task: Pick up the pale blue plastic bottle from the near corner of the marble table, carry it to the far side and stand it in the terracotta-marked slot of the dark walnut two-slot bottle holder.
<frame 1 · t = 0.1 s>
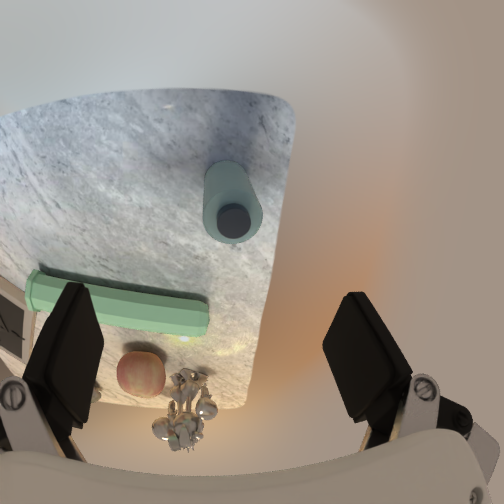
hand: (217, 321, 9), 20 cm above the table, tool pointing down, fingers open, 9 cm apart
container: (118, 293, 33), on the table
robot toy: (181, 380, 46), on the table
seashell: (79, 375, 43), on the table
picture frame: (1, 312, 32), on the table
bottle: (225, 180, 27), on the table
apple: (144, 353, 40), on the table
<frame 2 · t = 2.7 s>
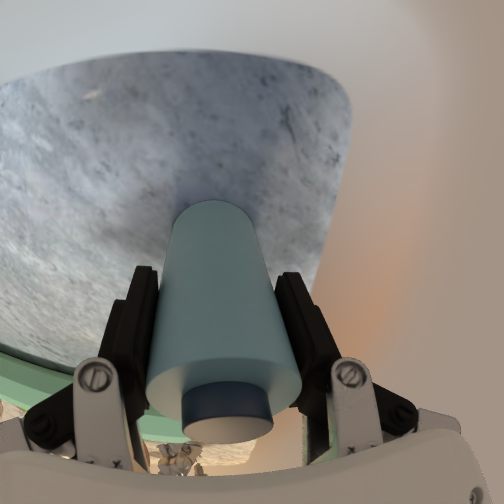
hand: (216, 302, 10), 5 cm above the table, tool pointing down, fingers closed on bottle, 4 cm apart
container: (75, 377, 20), on the table
robot toy: (171, 448, 32), on the table
bottle: (212, 239, 14), on the table, touching gripper
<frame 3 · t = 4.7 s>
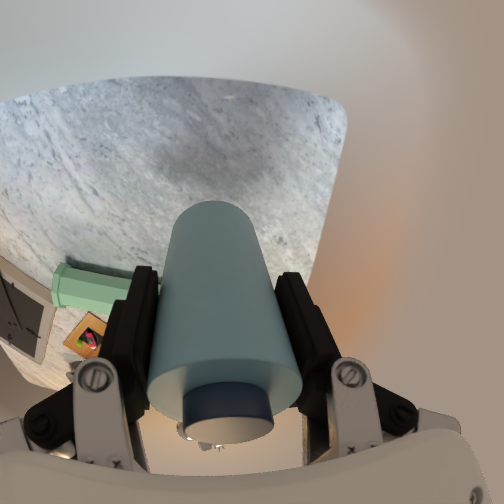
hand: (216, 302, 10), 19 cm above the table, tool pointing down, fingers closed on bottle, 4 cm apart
container: (154, 289, 33), on the table
board: (90, 338, 37), on the table
picture frame: (14, 308, 32), on the table
bottle: (213, 239, 14), point 14 cm above the table, touching gripper
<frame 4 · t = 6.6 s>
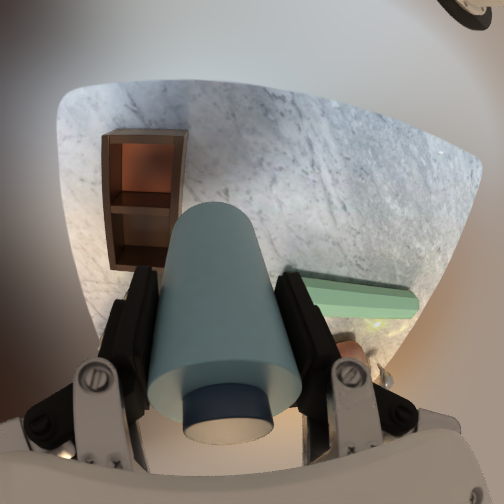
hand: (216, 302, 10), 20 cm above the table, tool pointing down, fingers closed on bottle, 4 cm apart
container: (353, 290, 39), on the table
robot toy: (346, 365, 52), on the table
holder: (148, 193, 27), on the table
bottle: (213, 240, 14), point 15 cm above the table, touching gripper
apple: (336, 344, 46), on the table
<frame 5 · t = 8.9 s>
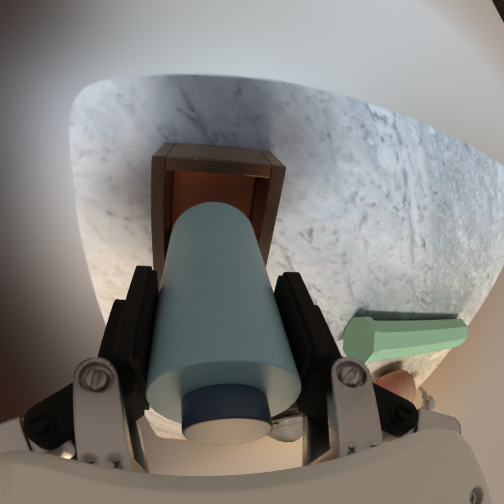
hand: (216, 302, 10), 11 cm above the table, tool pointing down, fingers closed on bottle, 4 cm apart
container: (412, 323, 33), on the table
robot toy: (388, 389, 46), on the table
holder: (208, 234, 21), on the table
seashell: (285, 415, 43), on the table
bottle: (212, 240, 14), point 6 cm above the table, touching gripper
apple: (384, 372, 40), on the table
when the fingers open (5 cm above the table, at t = 10.7 s): bottle stays where it is, resting on holder.
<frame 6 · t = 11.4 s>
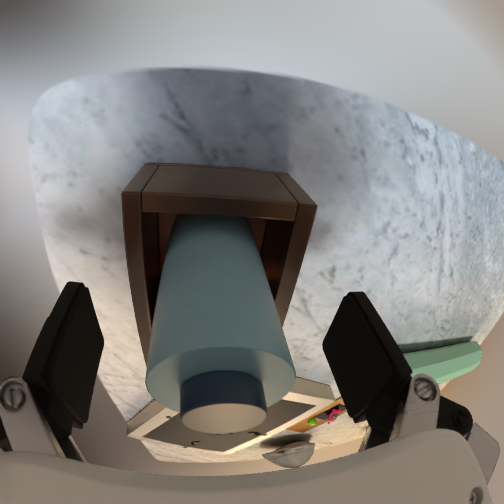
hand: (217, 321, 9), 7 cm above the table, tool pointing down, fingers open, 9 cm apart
container: (428, 351, 29), on the table
holder: (207, 278, 17), on the table
board: (325, 412, 33), on the table
seashell: (290, 441, 38), on the table
picture frame: (219, 412, 28), on the table
bottle: (211, 237, 15), point 1 cm above the table, touching holder
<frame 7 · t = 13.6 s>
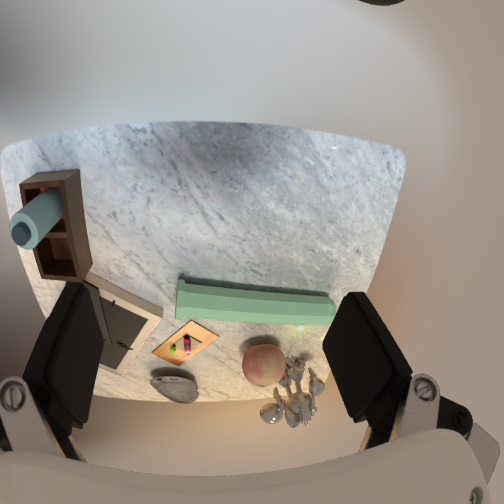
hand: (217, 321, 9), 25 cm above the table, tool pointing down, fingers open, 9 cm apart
container: (258, 296, 43), on the table
robot toy: (281, 367, 55), on the table
holder: (63, 220, 31), on the table
board: (184, 344, 46), on the table
seashell: (178, 378, 52), on the table
picture frame: (100, 324, 41), on the table
bottle: (57, 200, 28), point 1 cm above the table, touching holder
apple: (259, 346, 49), on the table
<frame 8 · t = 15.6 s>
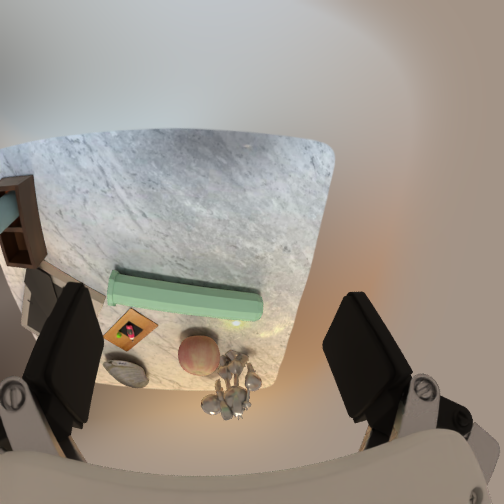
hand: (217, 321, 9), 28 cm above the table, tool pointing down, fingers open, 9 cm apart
container: (187, 289, 44), on the table
robot toy: (225, 361, 56), on the table
holder: (23, 216, 32), on the table
board: (128, 330, 48), on the table
seashell: (129, 364, 54), on the table
picture frame: (58, 308, 43), on the table
bottle: (18, 200, 30), point 1 cm above the table, touching holder
apple: (198, 338, 51), on the table
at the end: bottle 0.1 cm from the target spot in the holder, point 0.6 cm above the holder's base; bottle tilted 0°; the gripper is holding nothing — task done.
